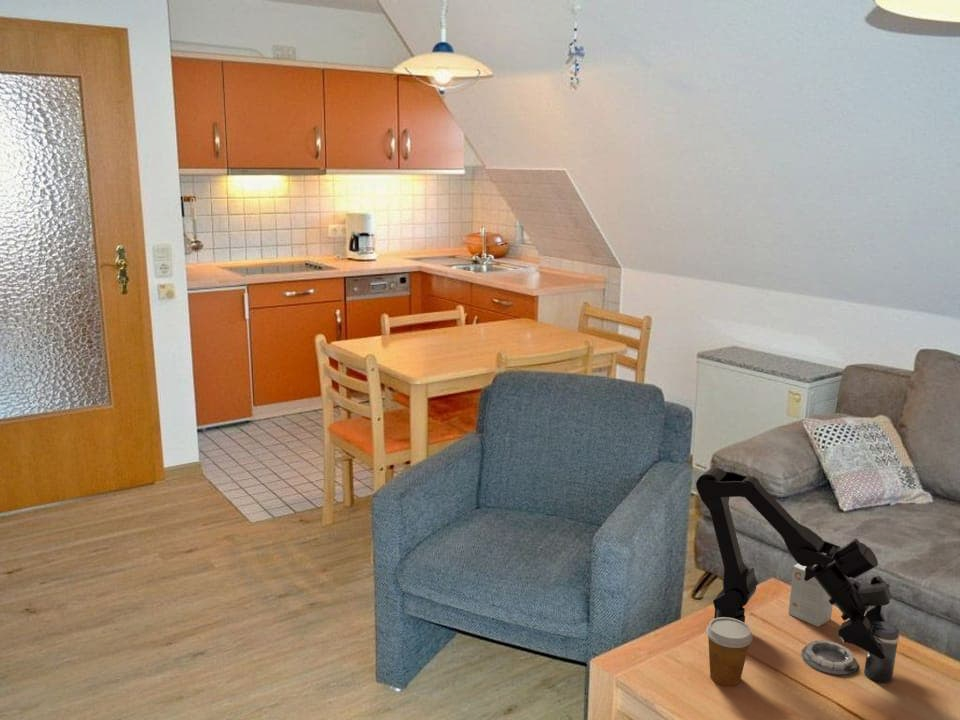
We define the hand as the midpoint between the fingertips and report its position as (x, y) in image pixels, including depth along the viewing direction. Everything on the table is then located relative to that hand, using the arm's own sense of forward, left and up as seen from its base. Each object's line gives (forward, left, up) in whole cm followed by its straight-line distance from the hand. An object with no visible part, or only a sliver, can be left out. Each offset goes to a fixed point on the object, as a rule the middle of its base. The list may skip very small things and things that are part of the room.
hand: (887, 648), depth 181 cm
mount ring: (-10, -5, -7) cm, 13 cm away
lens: (-1, 0, -7) cm, 7 cm away
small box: (-25, +8, -7) cm, 27 cm away
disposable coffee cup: (-17, -30, -7) cm, 36 cm away
